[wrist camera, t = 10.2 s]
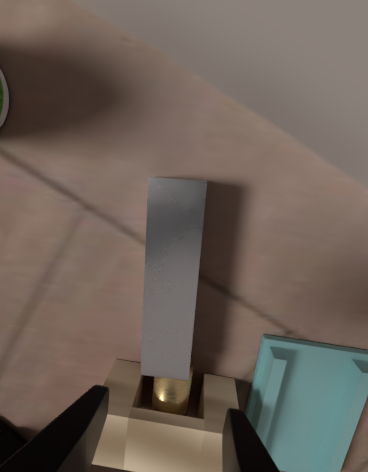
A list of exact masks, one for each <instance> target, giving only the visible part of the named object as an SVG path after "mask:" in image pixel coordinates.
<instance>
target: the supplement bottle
mask: <svg viewBox="0 0 368 472" xmlns="http://www.w3.org/2000/svg"><path fill="white" fill-rule="evenodd" d="M8 108H9V92H8V87H7V83H6V80H5V77H4V75H3V73H2V71H1V69H0V127H1V126H2V124H3V123H4V121H5V119H6V116H7V112H8Z"/></svg>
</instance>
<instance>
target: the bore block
mask: <svg viewBox="0 0 368 472" xmlns="http://www.w3.org/2000/svg"><path fill="white" fill-rule="evenodd" d="M140 374H141V363H136V362H130V361H124V360H118V359H116V360H115V362H114V364H113V366H112V368H111V370H110V372H109V374H108V377H107V379H106V381H105V383H104V385H103V386H107V387H109V405H108V414H107V418H106V421H105V424H104V427H103V430H102V434H101V437H100V440H99V443H98V446H97V449H96V452H95V455H94V458H93V461H92V464H95V465H100V466H106V467H111V468H117V469H122V470H128V471H133V472H222V433H223V427H224V422H225V417H226V413H227V410H228V408H236V409H239V406H238V399H237V393H236V386H235V379H234V378H228V377H222V376H216V375H210V374H204V378H203V384H202V390H201V396H200V401H199V407H198V413H197V418H193V417H187V416H181V415H175V414H170V413H164V412H158V411H152V410H146V409H140V407H141V398H142V388H143V378H144V375H140Z"/></svg>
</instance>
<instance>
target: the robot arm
mask: <svg viewBox="0 0 368 472" xmlns="http://www.w3.org/2000/svg"><path fill="white" fill-rule="evenodd" d="M108 405H109V387H107V386H101V385H94V386H93V387H92V388H90V389H89V390H88V391H87V392H86V393H85V394H83V395H82V396H81V397H80V398H79V399H78V400H76V401H75V402H74V403H73V404H72V405H71V406H69V407H68V408H67V409H66V410H65V411H64V412H62V413H61V414H60V415H59V416H58V417H57V418H55V419H54V420H53V421H52V422H51V423H50V424H48V425H47V426H46V427H45V428H44V429H43V430H41V431H40V432H39V433H38V434H37V435H36V436H34V437H33V438H32V439H31V440H30V441H29V442H25V441H24V440H23V439H22V438H20V437H19V436H18V435H17V434H15V433H14V432H13V431H12V430H10V429H9V428H8V427H6V426H5V425H4V424H3V423H1V422H0V472H89V471H90V468H91V465H92V461H93V458H94V455H95V452H96V449H97V446H98V443H99V440H100V437H101V434H102V430H103V427H104V424H105V421H106V418H107V414H108ZM222 472H280V471H279V469H278V467H277V466H276V464H275V462H274V461H273V459H272V457H271V456H270V454H269V452H268V451H267V449H266V447H265V446H264V444H263V442H262V441H261V439H260V437H259V436H258V434H257V432H256V431H255V429H254V427H253V426H252V424H251V422H250V421H249V419H248V417H247V416H246V414H245V413H244V411H243V410H241V409H236V408H228V410H227V413H226V417H225V422H224V427H223V433H222Z"/></svg>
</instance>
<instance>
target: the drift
mask: <svg viewBox="0 0 368 472" xmlns="http://www.w3.org/2000/svg"><path fill="white" fill-rule="evenodd" d="M192 375H193V364H192V362H191V361H190V371H189V381H188V380H179V379H171V378H163V377H155V376H154V385H153V394H152V402H151V410H152V411H158V412H164V413H170V414H175V415H181V416H186V413H187V407H188V400H189V394H190V388H191V382H192Z"/></svg>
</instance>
